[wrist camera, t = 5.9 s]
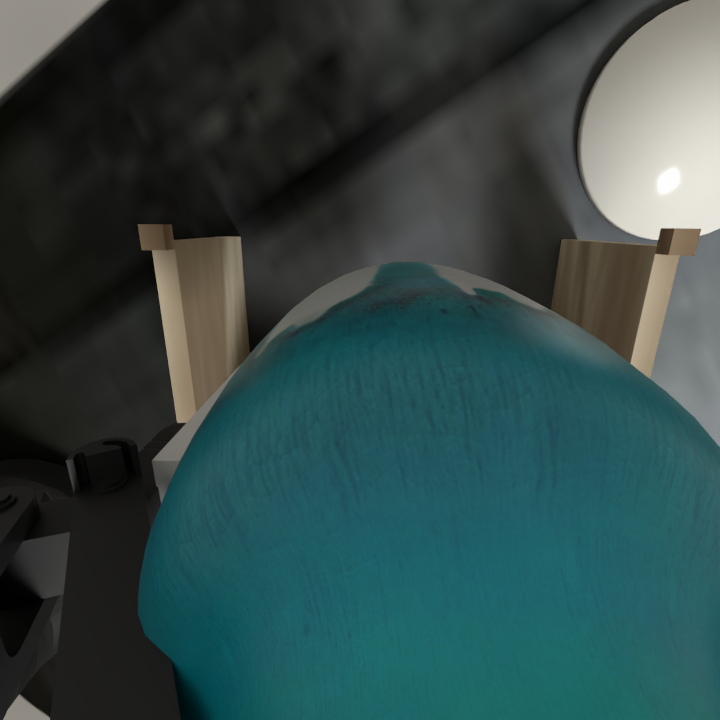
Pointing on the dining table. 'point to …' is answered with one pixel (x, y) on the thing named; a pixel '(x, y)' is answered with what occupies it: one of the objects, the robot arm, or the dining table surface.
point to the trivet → (657, 126)
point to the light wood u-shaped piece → (570, 300)
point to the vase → (438, 521)
